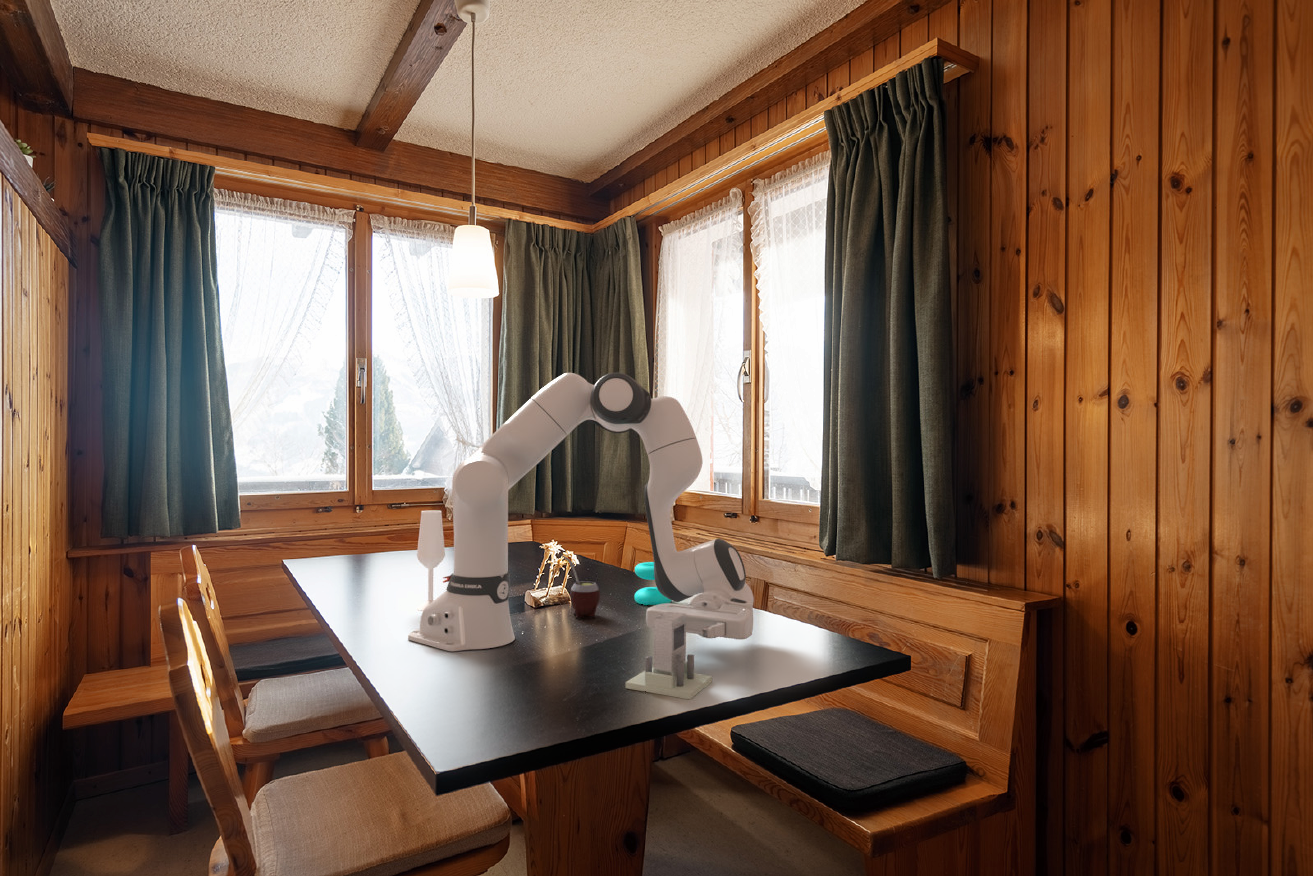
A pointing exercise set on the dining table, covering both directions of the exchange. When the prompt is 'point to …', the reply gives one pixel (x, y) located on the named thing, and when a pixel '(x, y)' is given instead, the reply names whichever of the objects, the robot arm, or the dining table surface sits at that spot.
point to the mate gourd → (584, 596)
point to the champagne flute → (430, 547)
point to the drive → (669, 643)
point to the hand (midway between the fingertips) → (682, 630)
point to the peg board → (670, 680)
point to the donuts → (649, 593)
